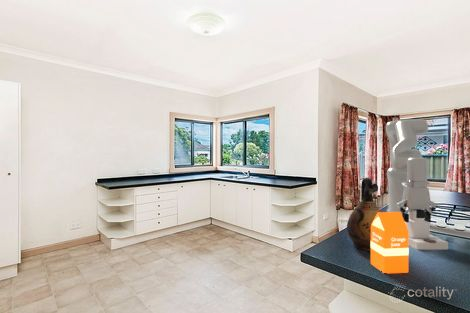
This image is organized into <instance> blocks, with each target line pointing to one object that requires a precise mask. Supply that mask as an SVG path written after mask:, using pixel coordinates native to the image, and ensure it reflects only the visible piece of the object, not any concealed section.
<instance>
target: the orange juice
mask: <svg viewBox="0 0 470 313" xmlns="http://www.w3.org/2000/svg"><path fill="white" fill-rule="evenodd" d="M409 246H410V245H409V230H408V228H407V226H406V224H405V221H404V219H403V217H402V214H401V212H387V211H383V212H382V211H380V212H377V215H376V217H375V218H374V220H373V222H372V224H371V251H370V264H371V266H373V267H375V268H376V269H377V270H379V271H380V272H381V271H382V272H381V273H383V274H384V273H387V274H403V273H405V274H406V273H409V256H410V255H409V254H410V253H409V250H410V248H409Z"/></svg>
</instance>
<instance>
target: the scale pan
mask: <svg viewBox="0 0 470 313" xmlns="http://www.w3.org/2000/svg"><path fill="white" fill-rule="evenodd" d="M409 238H411V239H435V238H433V237H431V236H430V238H413V237H411V236H409Z"/></svg>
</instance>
